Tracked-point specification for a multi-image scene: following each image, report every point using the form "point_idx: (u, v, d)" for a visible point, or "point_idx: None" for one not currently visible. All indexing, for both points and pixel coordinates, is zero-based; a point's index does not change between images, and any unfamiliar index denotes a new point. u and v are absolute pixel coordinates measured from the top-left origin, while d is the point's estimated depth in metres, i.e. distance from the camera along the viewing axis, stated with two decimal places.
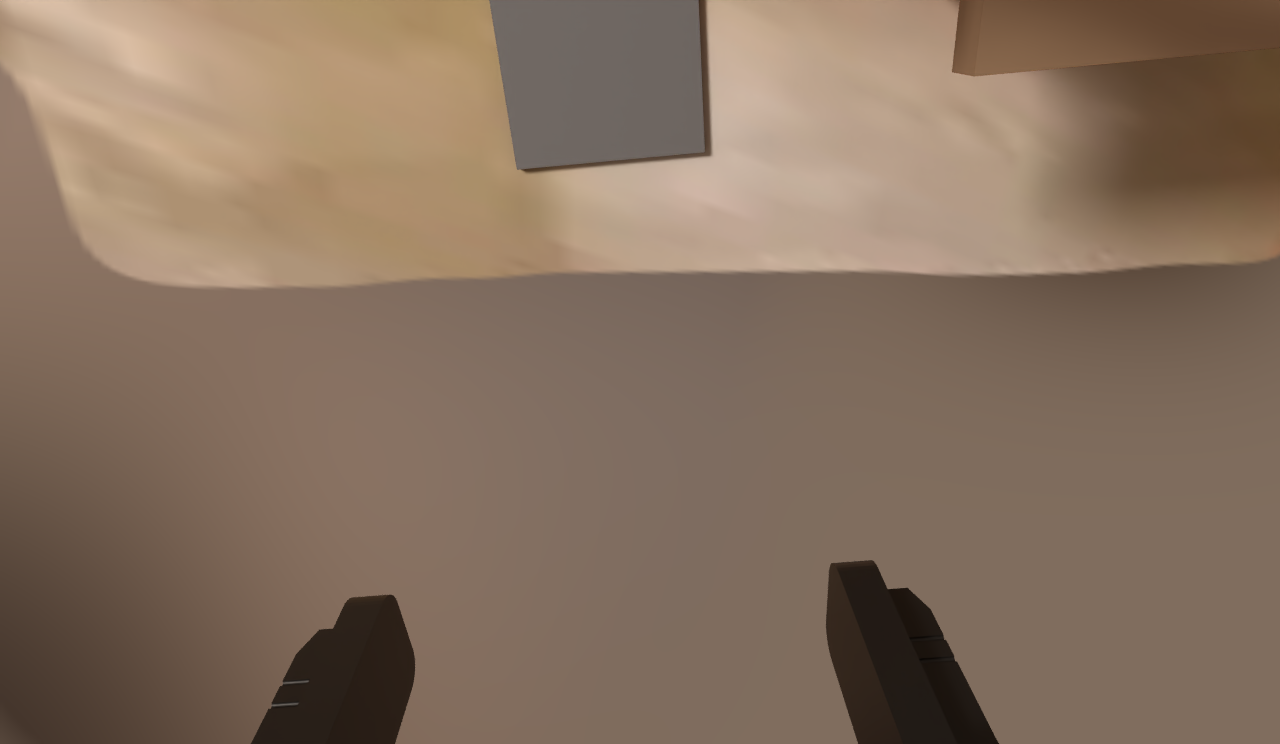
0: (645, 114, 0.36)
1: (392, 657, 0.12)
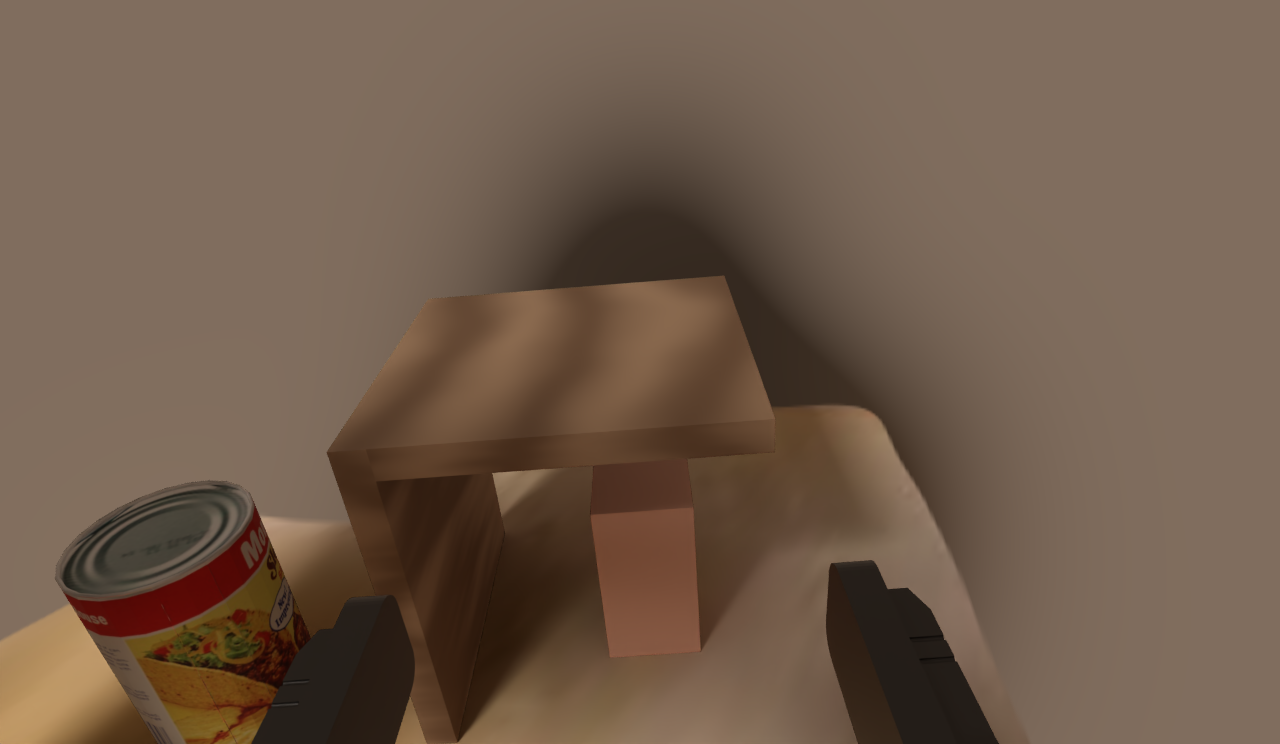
0: None
1: (392, 657, 0.12)
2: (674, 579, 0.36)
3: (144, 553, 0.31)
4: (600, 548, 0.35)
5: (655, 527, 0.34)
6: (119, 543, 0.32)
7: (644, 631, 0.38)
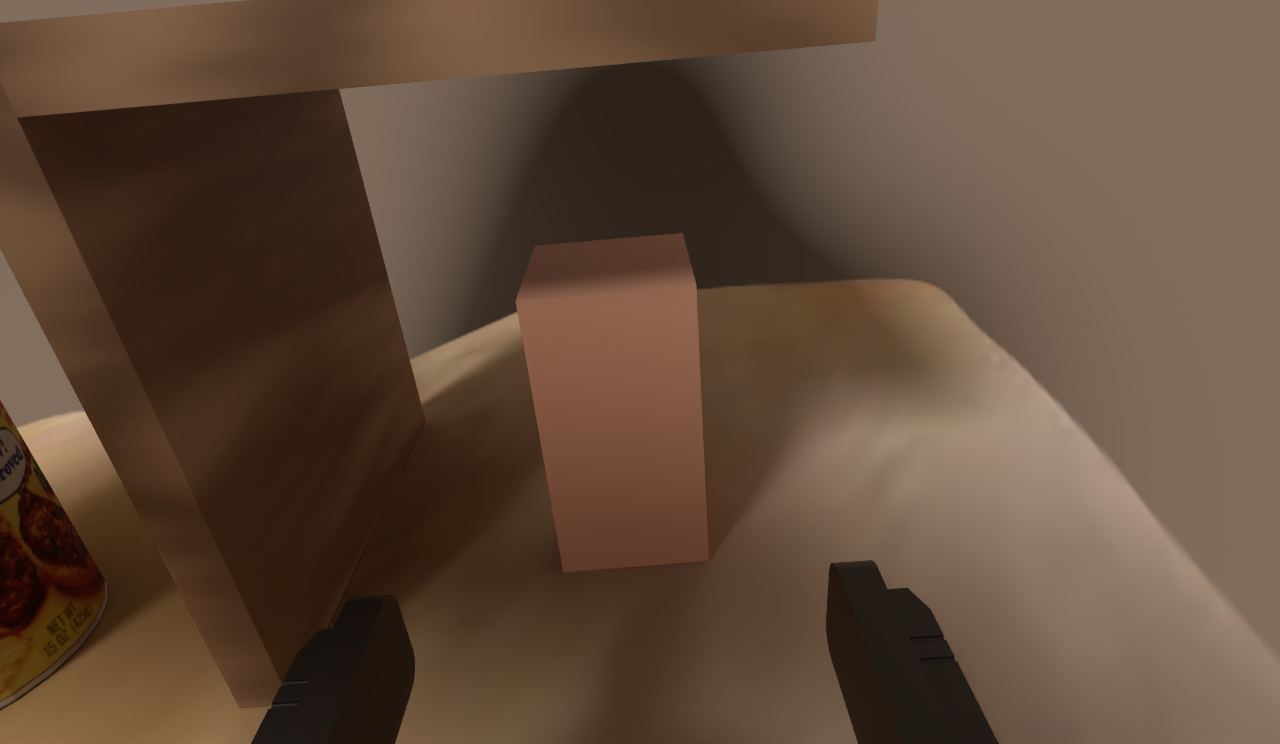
0: None
1: (393, 657, 0.12)
2: (665, 429, 0.21)
3: None
4: (537, 368, 0.20)
5: (631, 326, 0.20)
6: None
7: (618, 525, 0.23)
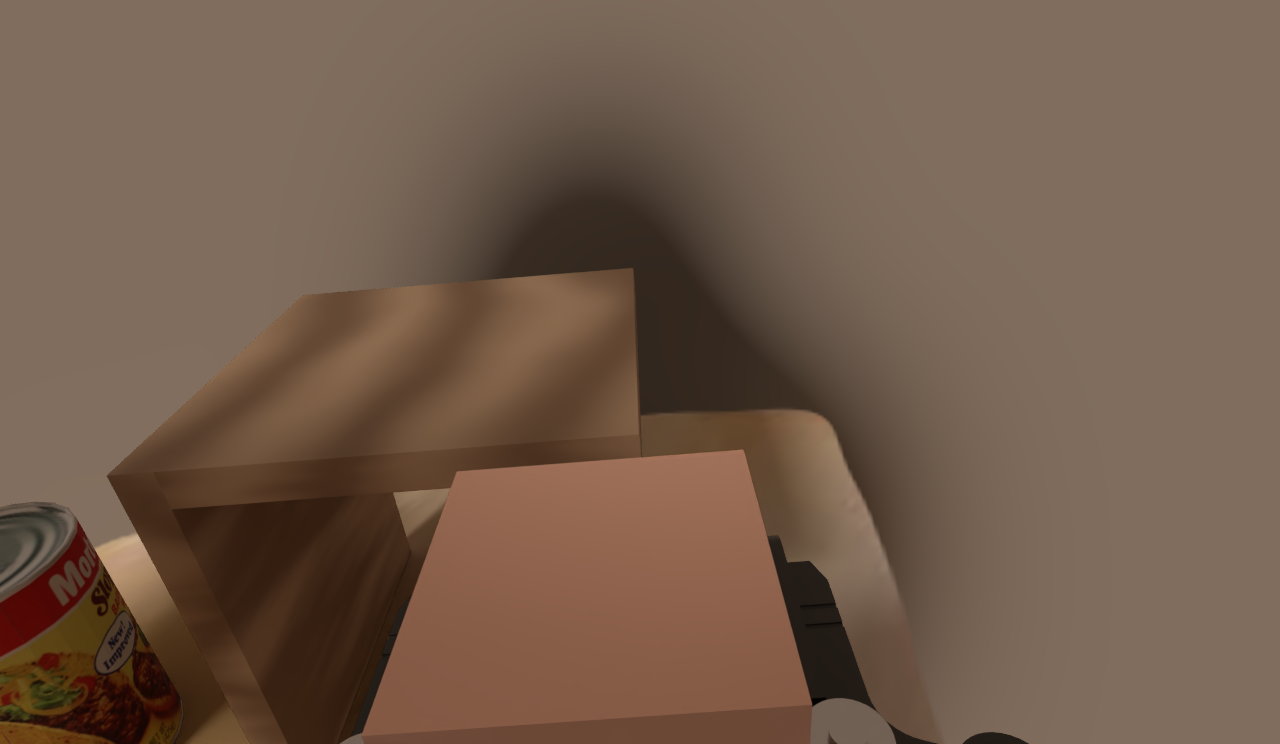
0: None
1: None
2: None
3: None
4: None
5: None
6: None
7: None
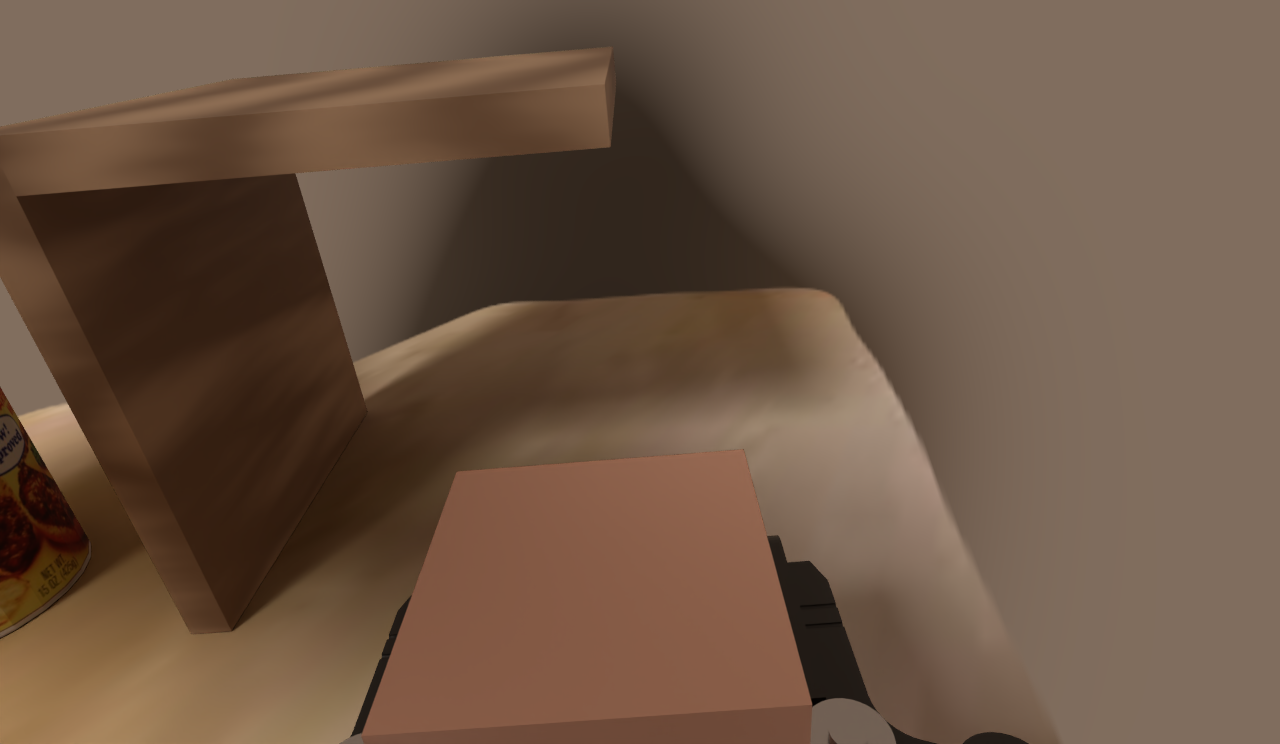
0: None
1: None
2: None
3: None
4: None
5: None
6: None
7: None
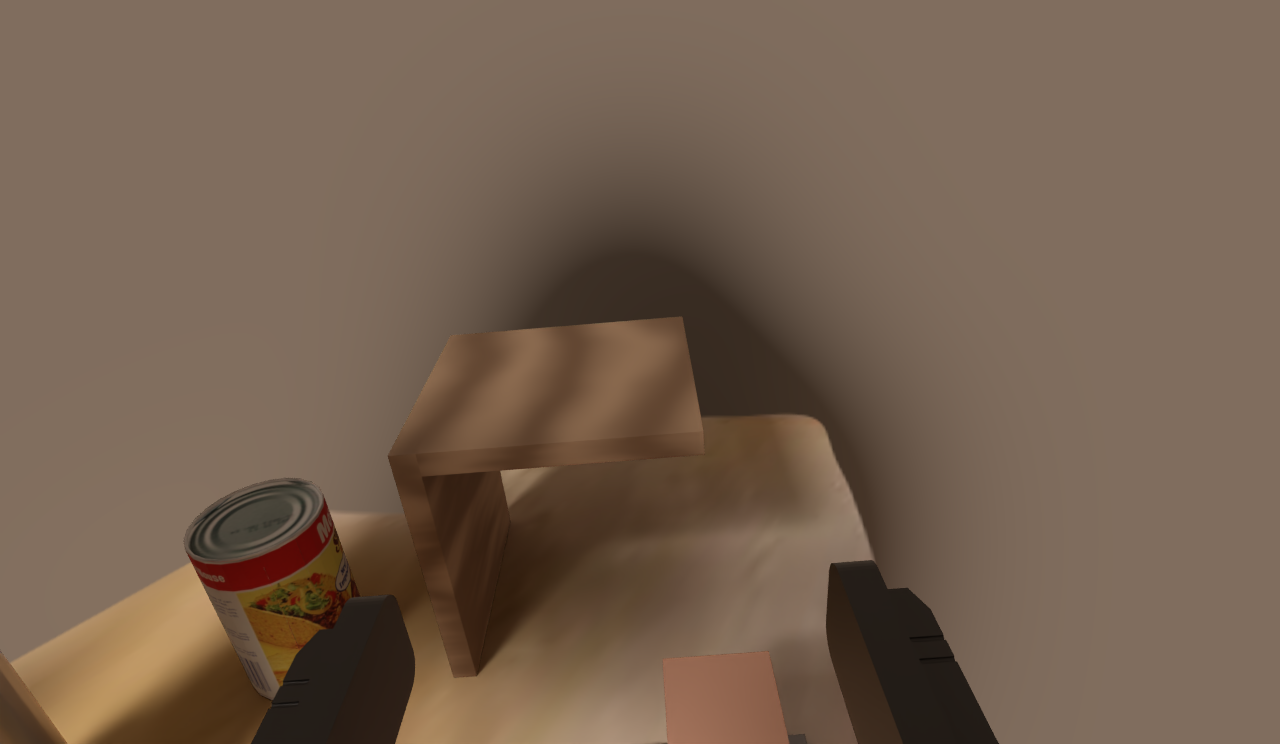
0: None
1: (392, 657, 0.12)
2: None
3: (246, 531, 0.42)
4: None
5: None
6: (226, 524, 0.43)
7: None
